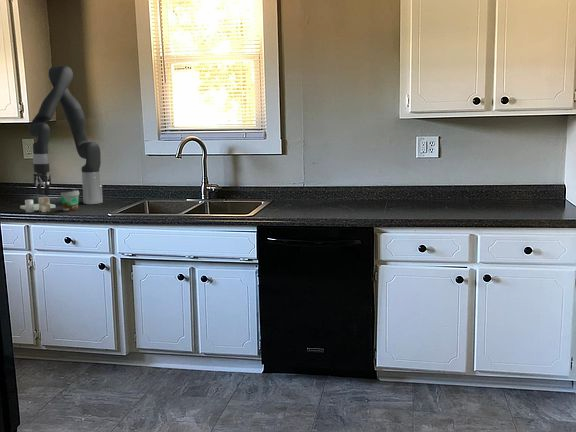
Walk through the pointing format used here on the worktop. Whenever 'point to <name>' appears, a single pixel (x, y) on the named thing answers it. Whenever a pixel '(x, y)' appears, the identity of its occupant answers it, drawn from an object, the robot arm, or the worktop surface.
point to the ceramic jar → (29, 205)
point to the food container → (70, 200)
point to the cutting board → (37, 206)
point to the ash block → (44, 204)
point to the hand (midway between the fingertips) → (43, 194)
